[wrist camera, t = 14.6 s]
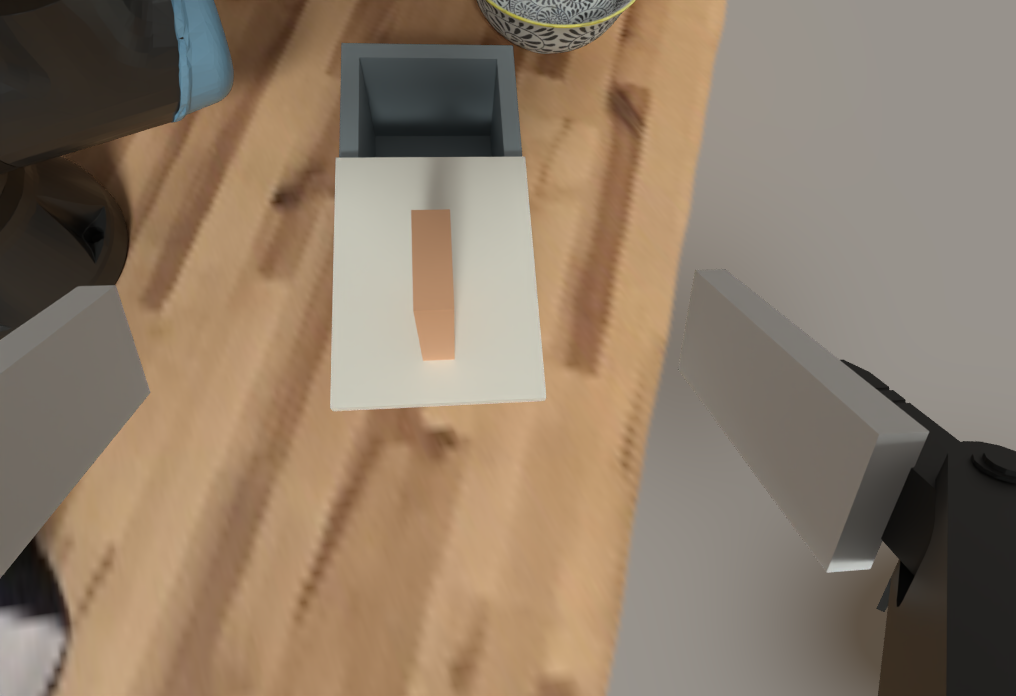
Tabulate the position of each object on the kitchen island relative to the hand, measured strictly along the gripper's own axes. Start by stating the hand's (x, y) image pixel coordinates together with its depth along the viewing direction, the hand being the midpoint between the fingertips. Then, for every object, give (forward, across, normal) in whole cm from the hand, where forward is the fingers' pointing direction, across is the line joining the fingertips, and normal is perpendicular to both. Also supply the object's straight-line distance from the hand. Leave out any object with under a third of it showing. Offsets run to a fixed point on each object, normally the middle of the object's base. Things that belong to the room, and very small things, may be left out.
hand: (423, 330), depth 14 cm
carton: (+35, 0, -7) cm, 36 cm away
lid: (+21, 0, -7) cm, 22 cm away
